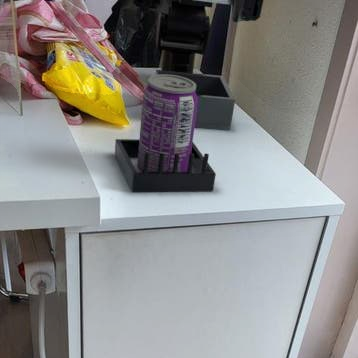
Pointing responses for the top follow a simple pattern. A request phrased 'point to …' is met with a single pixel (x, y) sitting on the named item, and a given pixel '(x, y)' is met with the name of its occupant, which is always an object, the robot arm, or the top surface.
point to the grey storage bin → (210, 100)
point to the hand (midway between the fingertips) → (203, 14)
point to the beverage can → (167, 122)
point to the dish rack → (164, 180)
